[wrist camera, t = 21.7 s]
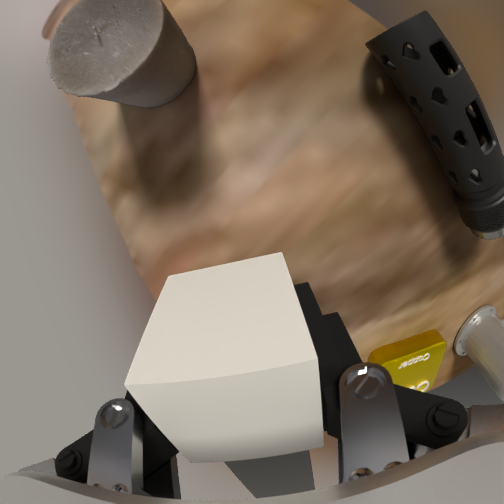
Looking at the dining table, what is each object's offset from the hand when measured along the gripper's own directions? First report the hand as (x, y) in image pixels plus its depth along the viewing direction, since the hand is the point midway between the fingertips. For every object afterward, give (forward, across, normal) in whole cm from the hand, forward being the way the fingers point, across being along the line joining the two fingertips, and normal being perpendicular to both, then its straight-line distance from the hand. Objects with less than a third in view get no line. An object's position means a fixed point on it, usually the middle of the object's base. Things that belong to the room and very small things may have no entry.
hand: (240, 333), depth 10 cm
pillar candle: (+23, +6, -17) cm, 30 cm away
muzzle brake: (+24, -27, -5) cm, 36 cm away
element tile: (+24, -22, +36) cm, 49 cm away
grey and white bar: (+1, 0, +6) cm, 6 cm away
